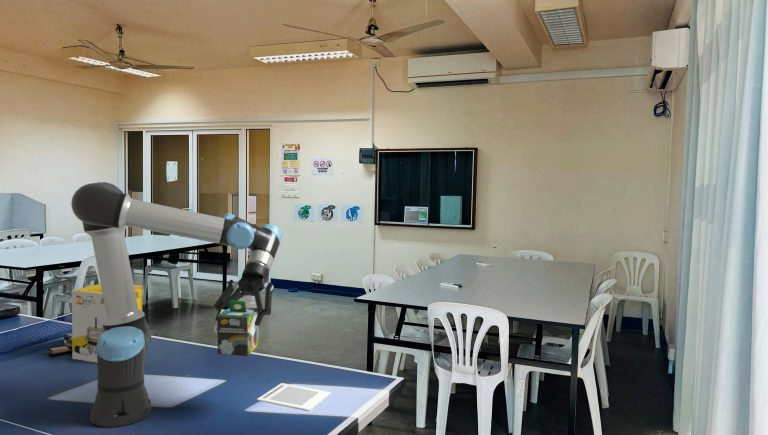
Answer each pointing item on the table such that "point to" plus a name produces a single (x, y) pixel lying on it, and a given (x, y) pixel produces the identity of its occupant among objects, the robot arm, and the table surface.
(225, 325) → the chalk box
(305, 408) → the white tray
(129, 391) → the robot arm
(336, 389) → the table surface
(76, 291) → the packaging box
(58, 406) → the table surface
